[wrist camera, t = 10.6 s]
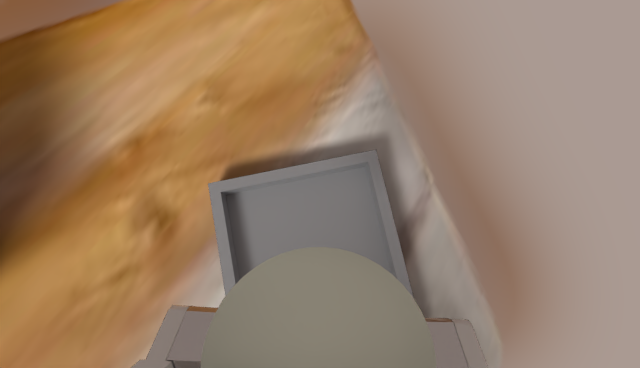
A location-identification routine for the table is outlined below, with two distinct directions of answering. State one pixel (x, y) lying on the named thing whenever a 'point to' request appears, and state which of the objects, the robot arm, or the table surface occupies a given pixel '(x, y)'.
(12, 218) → the table surface
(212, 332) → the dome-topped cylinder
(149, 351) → the robot arm
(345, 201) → the grey tray
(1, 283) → the table surface
